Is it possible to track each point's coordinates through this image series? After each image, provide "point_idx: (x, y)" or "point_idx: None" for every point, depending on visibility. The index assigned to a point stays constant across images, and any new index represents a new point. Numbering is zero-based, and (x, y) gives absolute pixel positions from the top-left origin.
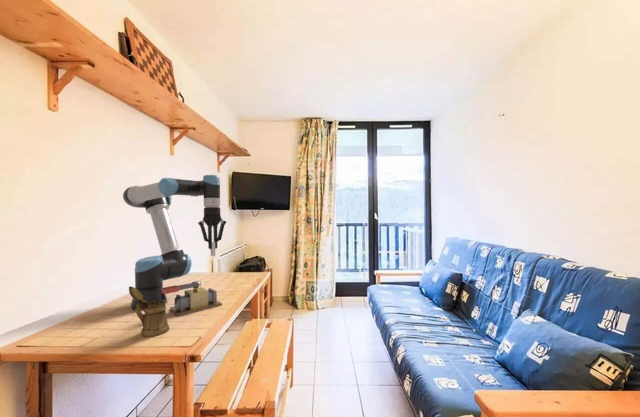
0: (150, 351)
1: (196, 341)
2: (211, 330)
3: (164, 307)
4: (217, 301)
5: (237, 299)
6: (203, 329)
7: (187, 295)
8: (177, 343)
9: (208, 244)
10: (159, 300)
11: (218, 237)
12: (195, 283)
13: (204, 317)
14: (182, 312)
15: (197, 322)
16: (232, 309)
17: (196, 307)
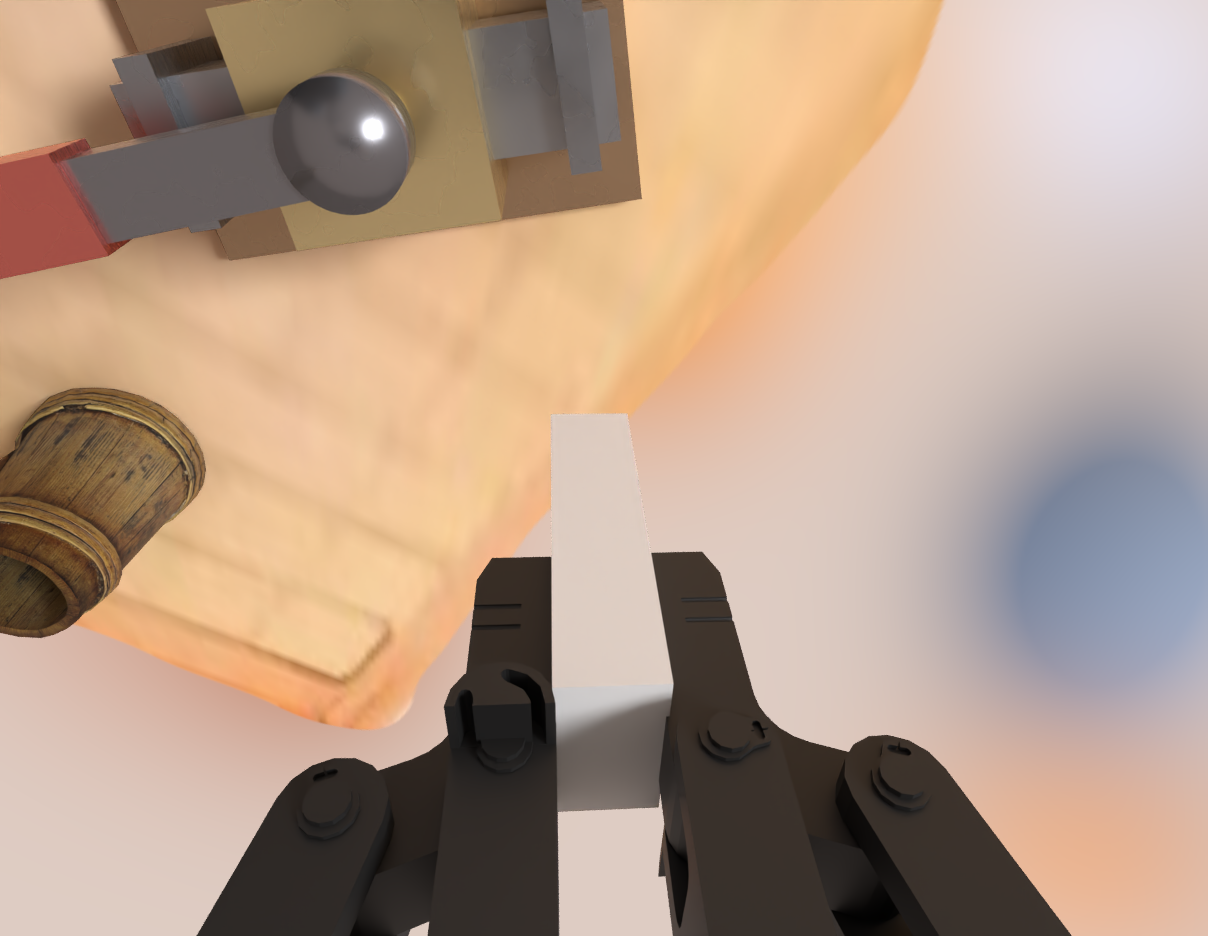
0: (163, 649)
1: (366, 658)
2: (450, 594)
3: (109, 592)
4: (621, 107)
5: (837, 102)
6: (411, 565)
7: None
8: (279, 638)
9: (467, 672)
10: (24, 562)
11: (898, 871)
12: (330, 209)
13: (441, 397)
14: (265, 238)
15: (386, 456)
16: (669, 358)
17: None
